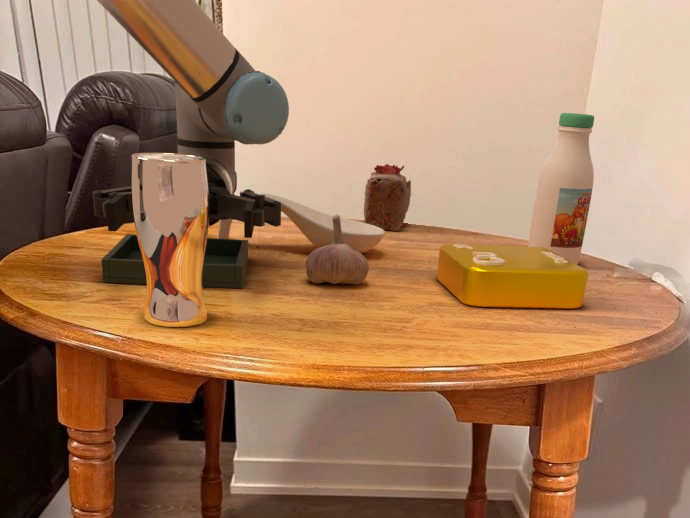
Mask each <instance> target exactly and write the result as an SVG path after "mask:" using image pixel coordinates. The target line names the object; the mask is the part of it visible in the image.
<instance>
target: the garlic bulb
mask: <svg viewBox="0 0 690 518" xmlns="http://www.w3.org/2000/svg"><path fill="white" fill-rule="evenodd" d="M332 216H333V228H334V237H333V242H332V244H331V245H326V246H323V247H320V248H317V247H316V248H315V249H313V250H312V251H311V252H310V253H309V255H308V256H307V258H306V262H305V268H306V269H305V270H306V276H307V278H308V280H309V281H310V282H311V283H314V284H322V283H330V284H332V285H336V284H342V285H344V284H345V285H346V284H349V285H359V284H361V283H362V284H363V282H364V281H365V280H366V278H367V277H368V274H369V272H370V271H369V270H370V266H369V262H368V260H367V258H366V257H365V255H363V253H360V252H358V251H355V250H353V249H352V248H351V247H350V246H348V245H346V244H344V240H343V236H342V231H341V223H340V218H341V215H339V214H335V215H332Z"/></svg>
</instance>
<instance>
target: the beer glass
mask: <svg viewBox="0 0 690 518" xmlns="http://www.w3.org/2000/svg"><path fill="white" fill-rule="evenodd" d="M205 160H206V159H205V158H204V157H200V156H195V155H188V154H178V152H177V153H173V152H137V153H133V154H131V186H132V206H133V216H134V217H133V222H134V228H135V234H137V238H138V242H139V246H140V251H141V255H142V259H143V263H144V268H145V273H146V281H147V284H146V297H145V306H144V313H143V315H144V317H143V318H144V320H145V321H146V322H148V323H149V324H151V325H154V326H157V327H158V326H159V327H166V328H186V327H187V328H188V327H193V326H194V327H195V326H199V325H201V324H203V323H205V322H206V321H207V320H208V312H207V307H206V303H205V298H204V292H203V288H204V287H203V286H202V272H203V264H204V257H205V250H206V243H207V238H208V237H209V227H210V226H209V195H208V183H207V173H206V163H205ZM208 226H209V227H208Z"/></svg>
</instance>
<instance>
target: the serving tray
mask: <svg viewBox="0 0 690 518" xmlns="http://www.w3.org/2000/svg"><path fill="white" fill-rule="evenodd" d="M248 263H249V240H248V239H235V238H228V239H218V238H217V237H216V238H215V237H207V243H206V250H205V257H204V264H203V272H202V286H203V287H202V288H217V289H218V288H219V289H220V288H221V289H240V290H241V289H243V286H244V282H245V277H246V271H247V267H248ZM101 271H102V273H101V274H102V283H103V284H104V283H105V284H106V283H107V284H128V285H147V281H146V273H145V268H144V263H143V259H142V255H141V251H140V246H139V242H138V238H137V233H135V234H133V233H126V234H125V235H124V237H122V238H121V239H120V240H119V241H118V243H116V244H115V245H114V246H113V247H112V248H111V249H110V251H108V252H107V253H106V254H105V255H104V257H102V258H101Z"/></svg>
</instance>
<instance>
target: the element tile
mask: <svg viewBox="0 0 690 518" xmlns="http://www.w3.org/2000/svg"><path fill="white" fill-rule="evenodd" d="M436 279H437V280H438V282H439V283H440V284H442V286H444V288H446V289H447V290H448V291H449V292H450V293H451V294H452V295H453V296H455V298H456V299H457V300H458V301H459V302H461V303H462V304H464V305H467V306H471V307H477V308H508V309H509V308H510V309H511V308H513V309H516V308H517V309H556V310H557V309H560V310H561V309H563V310H574V309H579V308H581V307H582V306H583V304H584V298H585V293H586V287H587V283H588V279H589V271H588V270H587V269H585V268H583V267H582V266H580V265H578V264H577V265H576V264H574V263H573V262H571V261H569V260H567V259H565V258H563V257H562V256H560V255H558V254H556V253H554V252H552V251H550V250H548V249H546V248H543V247H528V245H527V246H525V245H524V246H523V245H500V244H499V245H498V244H497V245H494V244H469V243H443V244H442V245H441V246H440V247H439V252H438V261H437V270H436Z"/></svg>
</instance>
